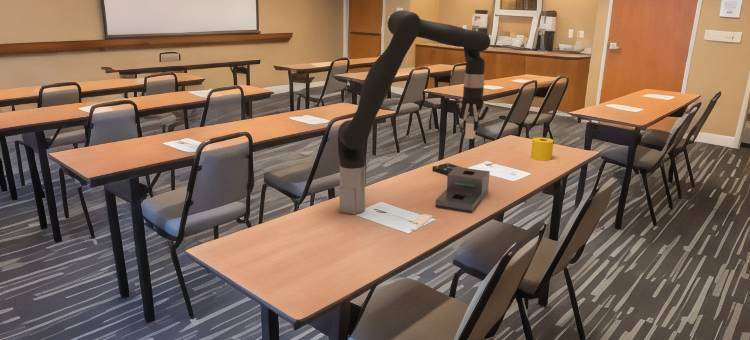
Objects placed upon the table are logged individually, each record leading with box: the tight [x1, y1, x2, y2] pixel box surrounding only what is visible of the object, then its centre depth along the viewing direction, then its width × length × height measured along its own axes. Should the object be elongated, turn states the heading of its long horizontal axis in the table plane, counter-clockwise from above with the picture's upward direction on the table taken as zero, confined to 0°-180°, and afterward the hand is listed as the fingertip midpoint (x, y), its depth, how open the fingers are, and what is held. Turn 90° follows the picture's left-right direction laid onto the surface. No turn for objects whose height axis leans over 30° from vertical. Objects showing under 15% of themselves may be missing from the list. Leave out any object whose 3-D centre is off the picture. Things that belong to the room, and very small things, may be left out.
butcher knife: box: [410, 213, 434, 232], centre depth 192 cm, size 5×15×1 cm, turn 151°
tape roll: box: [530, 137, 554, 162], centre depth 273 cm, size 10×10×9 cm
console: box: [435, 166, 491, 214], centre depth 214 cm, size 26×14×9 cm, turn 156°
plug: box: [464, 115, 476, 140], centre depth 212 cm, size 4×3×8 cm
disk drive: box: [432, 162, 464, 176], centre depth 249 cm, size 10×3×15 cm
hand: (470, 129), depth 213 cm, fingers closed on plug, 3 cm apart
